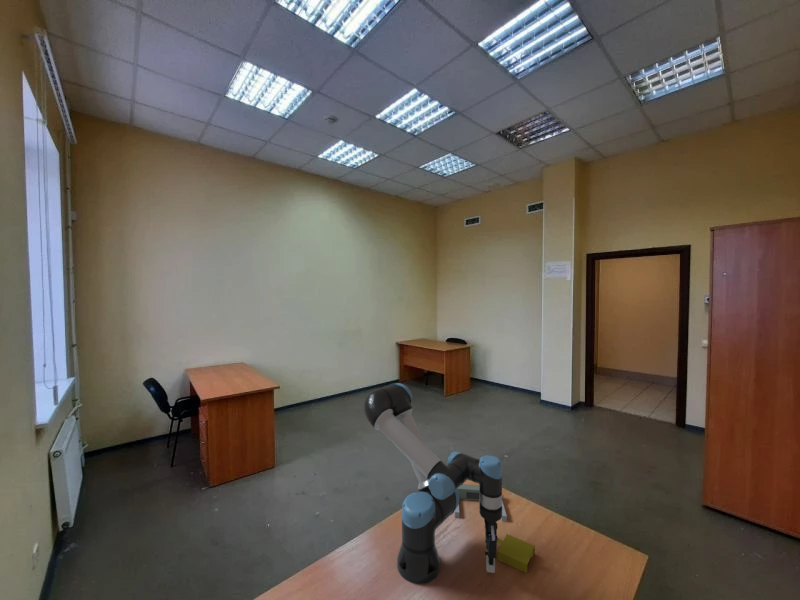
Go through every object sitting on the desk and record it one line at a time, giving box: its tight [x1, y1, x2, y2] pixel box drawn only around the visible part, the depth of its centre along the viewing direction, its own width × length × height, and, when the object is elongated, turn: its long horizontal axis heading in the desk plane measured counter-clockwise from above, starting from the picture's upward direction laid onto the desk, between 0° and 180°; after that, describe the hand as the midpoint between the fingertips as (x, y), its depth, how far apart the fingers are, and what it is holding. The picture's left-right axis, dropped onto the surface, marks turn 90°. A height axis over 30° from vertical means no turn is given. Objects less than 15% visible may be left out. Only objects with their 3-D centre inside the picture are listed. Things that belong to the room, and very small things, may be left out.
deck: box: [453, 483, 508, 522], centre depth 151 cm, size 22×17×6 cm
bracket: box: [497, 533, 536, 574], centre depth 122 cm, size 16×8×15 cm
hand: (490, 570), depth 114 cm, fingers closed
